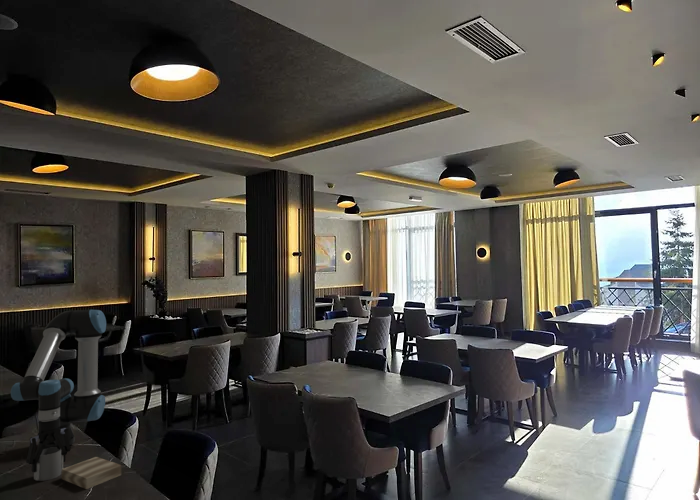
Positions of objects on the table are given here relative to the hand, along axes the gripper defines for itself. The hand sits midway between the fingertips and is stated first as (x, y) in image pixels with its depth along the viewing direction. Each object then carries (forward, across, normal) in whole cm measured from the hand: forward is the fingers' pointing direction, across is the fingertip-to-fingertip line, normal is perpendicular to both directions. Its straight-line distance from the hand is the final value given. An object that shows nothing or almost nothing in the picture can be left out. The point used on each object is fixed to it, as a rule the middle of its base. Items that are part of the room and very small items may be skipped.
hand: (48, 475), depth 188 cm
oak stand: (0, +8, -17) cm, 19 cm away
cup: (+1, 0, 0) cm, 1 cm away
